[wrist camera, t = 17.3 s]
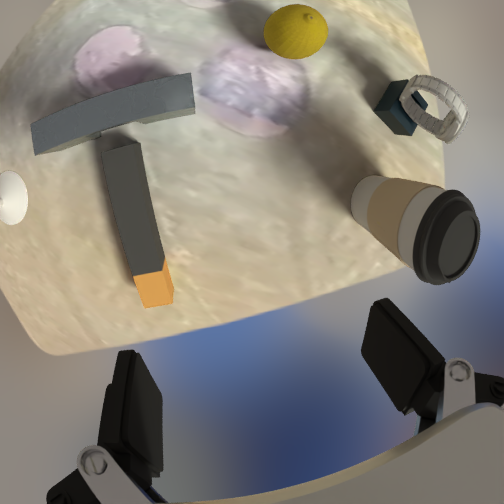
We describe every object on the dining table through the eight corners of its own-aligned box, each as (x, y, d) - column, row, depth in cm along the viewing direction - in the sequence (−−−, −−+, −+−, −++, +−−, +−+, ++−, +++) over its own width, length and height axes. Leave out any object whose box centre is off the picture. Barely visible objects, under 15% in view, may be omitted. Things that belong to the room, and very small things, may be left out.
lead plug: (111, 150, 23) (100, 152, 20) (140, 142, 24) (133, 143, 21) (148, 292, 30) (144, 308, 27) (173, 288, 31) (172, 303, 28)
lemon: (253, 22, 20) (274, -12, 13) (304, 25, 21) (337, -2, 14) (257, 66, 23) (281, 42, 15) (309, 68, 23) (346, 50, 16)
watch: (403, 144, 29) (469, 157, 19) (363, 101, 26) (431, 96, 16) (420, 114, 27) (484, 120, 18) (382, 71, 24) (448, 60, 15)
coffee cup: (370, 151, 28) (472, 174, 15) (409, 194, 32) (496, 233, 18) (329, 211, 30) (416, 270, 17) (373, 248, 34) (451, 308, 20)
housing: (57, 124, 20) (30, 124, 15) (191, 85, 22) (190, 72, 17) (61, 150, 22) (34, 155, 17) (195, 113, 24) (195, 107, 18)
